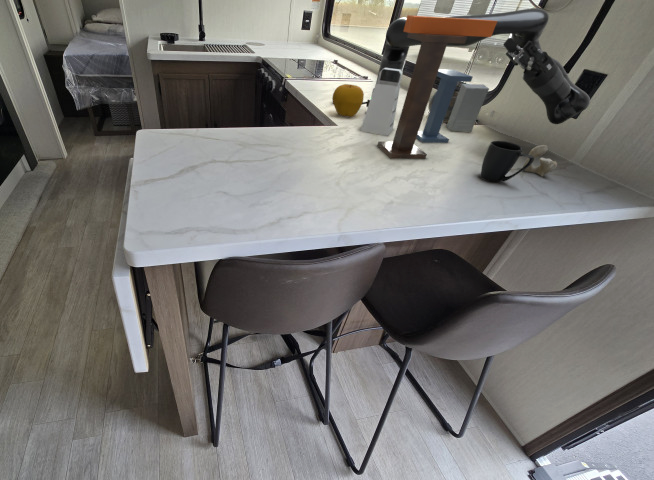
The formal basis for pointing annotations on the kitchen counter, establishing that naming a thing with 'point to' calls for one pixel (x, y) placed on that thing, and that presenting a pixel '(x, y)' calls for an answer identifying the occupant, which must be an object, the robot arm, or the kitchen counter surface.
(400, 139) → the tall stand
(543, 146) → the bone
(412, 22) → the orange wooden plank
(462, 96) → the cosmetic box
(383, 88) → the grater
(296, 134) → the kitchen counter surface
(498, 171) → the mug
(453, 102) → the bowl
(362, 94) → the apple
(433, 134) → the lower shelf
